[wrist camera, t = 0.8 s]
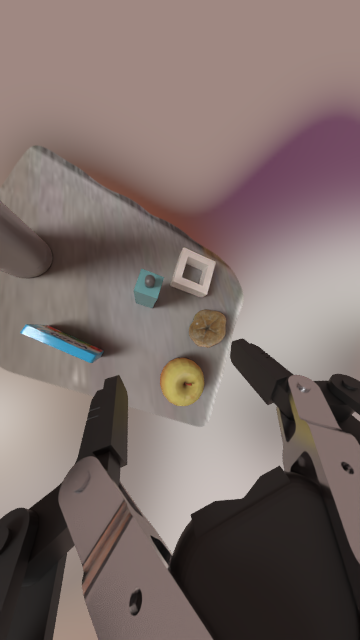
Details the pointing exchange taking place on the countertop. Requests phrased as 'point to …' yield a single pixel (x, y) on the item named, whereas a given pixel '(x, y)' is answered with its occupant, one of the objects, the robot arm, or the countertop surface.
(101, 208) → the countertop surface
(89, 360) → the blue printed box
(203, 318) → the fossil
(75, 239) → the countertop surface
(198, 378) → the apple
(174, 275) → the socket
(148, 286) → the teal block with knob
